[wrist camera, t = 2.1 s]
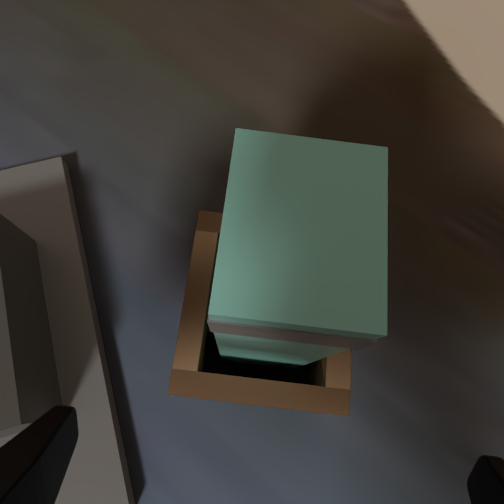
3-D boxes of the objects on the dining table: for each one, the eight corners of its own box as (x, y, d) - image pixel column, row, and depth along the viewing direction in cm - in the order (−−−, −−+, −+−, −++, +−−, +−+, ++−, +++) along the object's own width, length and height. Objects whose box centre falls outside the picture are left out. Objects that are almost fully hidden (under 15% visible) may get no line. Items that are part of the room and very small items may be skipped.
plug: (293, 369, 20) (389, 338, 8) (220, 361, 20) (205, 316, 8) (300, 283, 22) (390, 145, 10) (232, 275, 22) (234, 126, 10)
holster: (326, 411, 20) (349, 416, 16) (179, 394, 20) (167, 394, 16) (334, 256, 22) (355, 229, 19) (204, 240, 22) (199, 210, 19)
